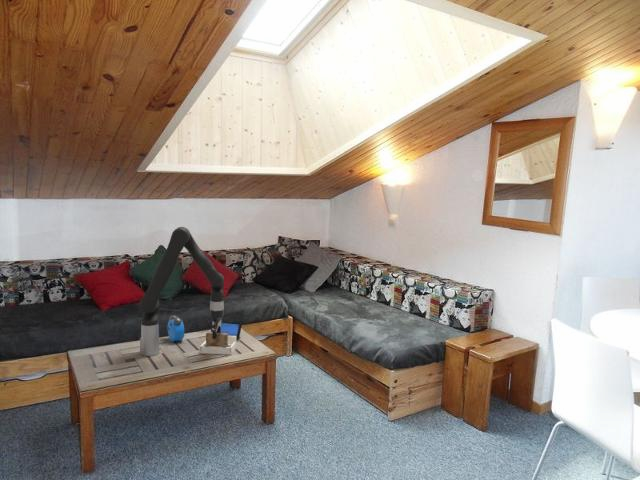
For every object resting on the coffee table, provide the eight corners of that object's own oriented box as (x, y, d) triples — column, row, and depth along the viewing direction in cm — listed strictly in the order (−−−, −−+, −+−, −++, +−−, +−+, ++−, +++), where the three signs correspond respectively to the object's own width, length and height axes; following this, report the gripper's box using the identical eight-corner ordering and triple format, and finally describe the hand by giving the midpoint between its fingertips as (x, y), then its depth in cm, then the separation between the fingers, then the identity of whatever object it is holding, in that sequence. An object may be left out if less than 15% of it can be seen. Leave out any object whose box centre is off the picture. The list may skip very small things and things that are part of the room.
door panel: (205, 350, 272) (205, 333, 271) (207, 349, 274) (207, 332, 273) (226, 351, 271) (226, 334, 270) (227, 350, 274) (227, 333, 272)
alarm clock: (184, 342, 287) (184, 318, 286) (174, 344, 284) (174, 320, 282) (177, 336, 298) (176, 313, 296) (167, 338, 294) (166, 314, 292)
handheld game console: (210, 341, 291) (210, 327, 290) (218, 335, 304) (218, 321, 303) (234, 344, 288) (234, 329, 287) (242, 337, 301) (242, 322, 300)
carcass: (199, 353, 270) (199, 341, 270) (206, 346, 282) (206, 334, 282) (231, 354, 269) (231, 342, 268) (236, 347, 281) (236, 335, 281)
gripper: (213, 304, 277) (213, 332, 279) (206, 311, 263) (206, 339, 265) (226, 305, 277) (226, 332, 279) (220, 312, 263) (219, 340, 264)
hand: (216, 336), depth 272 cm, fingers open, 8 cm apart
